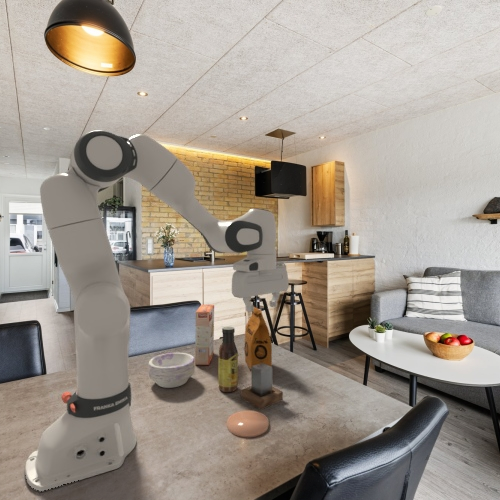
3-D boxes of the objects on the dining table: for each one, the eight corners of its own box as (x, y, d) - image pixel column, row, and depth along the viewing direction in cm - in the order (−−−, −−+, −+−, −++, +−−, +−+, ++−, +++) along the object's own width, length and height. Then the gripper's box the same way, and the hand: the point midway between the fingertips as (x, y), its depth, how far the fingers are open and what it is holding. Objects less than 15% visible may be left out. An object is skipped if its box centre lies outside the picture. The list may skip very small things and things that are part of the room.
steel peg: (261, 404, 98) (261, 371, 97) (251, 398, 101) (251, 366, 101) (272, 399, 101) (272, 367, 100) (262, 393, 104) (262, 362, 104)
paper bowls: (168, 370, 122) (168, 348, 122) (203, 377, 116) (203, 355, 116) (138, 386, 109) (138, 363, 108) (176, 396, 102) (175, 371, 102)
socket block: (260, 409, 95) (260, 401, 94) (241, 397, 101) (241, 389, 101) (282, 399, 100) (282, 391, 100) (262, 389, 107) (263, 381, 107)
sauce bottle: (234, 394, 104) (235, 331, 103) (215, 392, 105) (215, 330, 104) (239, 385, 110) (239, 326, 109) (221, 383, 111) (221, 325, 111)
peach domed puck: (244, 442, 79) (244, 439, 79) (218, 422, 88) (218, 419, 88) (277, 426, 86) (277, 423, 86) (250, 409, 95) (250, 406, 95)
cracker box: (210, 365, 126) (210, 311, 126) (194, 365, 127) (194, 311, 126) (214, 352, 140) (214, 304, 140) (200, 352, 140) (200, 304, 140)
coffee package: (247, 375, 118) (247, 314, 117) (243, 361, 130) (243, 306, 130) (274, 373, 120) (275, 313, 119) (267, 360, 132) (268, 306, 131)
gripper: (278, 260, 108) (278, 302, 109) (228, 264, 95) (228, 312, 96) (293, 261, 103) (293, 305, 104) (241, 266, 90) (242, 316, 91)
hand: (261, 308), depth 100 cm, fingers open, 8 cm apart
